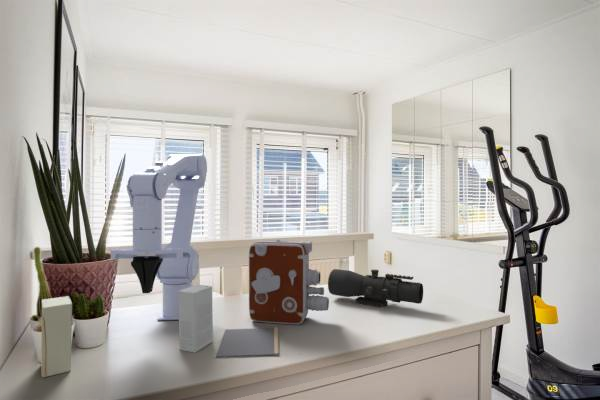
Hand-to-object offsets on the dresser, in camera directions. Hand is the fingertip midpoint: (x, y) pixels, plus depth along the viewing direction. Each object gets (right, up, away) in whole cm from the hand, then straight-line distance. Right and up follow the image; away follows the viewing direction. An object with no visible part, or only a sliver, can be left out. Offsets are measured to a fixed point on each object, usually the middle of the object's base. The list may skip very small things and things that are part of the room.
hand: (147, 292), depth 76 cm
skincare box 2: (+11, -11, -2) cm, 16 cm away
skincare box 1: (-11, -11, -12) cm, 20 cm away
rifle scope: (+54, -11, +26) cm, 61 cm away
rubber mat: (+22, -11, 0) cm, 24 cm away
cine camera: (+30, -11, +13) cm, 34 cm away
